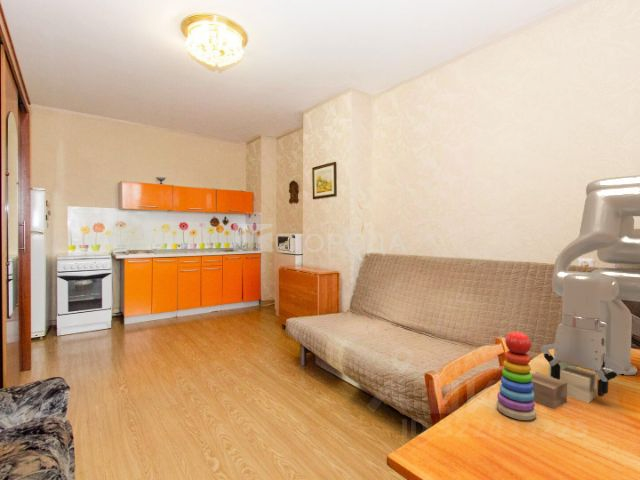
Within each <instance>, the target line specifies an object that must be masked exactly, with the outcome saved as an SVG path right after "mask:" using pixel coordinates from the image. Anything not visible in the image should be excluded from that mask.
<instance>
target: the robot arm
mask: <svg viewBox="0 0 640 480" xmlns="http://www.w3.org/2000/svg"><path fill="white" fill-rule="evenodd" d="M585 195H586V198H585V201H584V206H583V212H582V218H581V223H580V228H579V235H578V237H577V238H575V239H574V240H572V241H571V242H570V243H569V244H567V245H566V246H565V247H564V248H563V249H562V250H561V251H560V252H559V254H558V255H557V258H556V259H555V261H554V265H553V266H554V267H553V272H552V277H551V286H552V287H551V288H552V290H553V292H554V293H555V294H556V295H558V296H561V297H562V310H561V312H562V313H561V322H560V323H558V327H557V330H556V333H555V338H554V339H555V340H554V342H553V343H549V344H545V345H542V346H540V351H541V353H542V355H543V357H544V358H545V360H546V361H547V362H548V364H549V366H551V377H553V378H555V379H558V380H560V365H559V363H560V362H563V363H567V364H570V365H574V366H577V368H581V369H583V370H589V371H591V372H593V371H594V373H595V374H597V377H598V378H599V379H597V397H600V398H603V396H605V395H608V392H609V381H610V380H612V379H615V378H617V376H619V375H621V374H624V375H623V376H634V375H637V374H636V373H638V369H637V367H636V366H635V365H632V364H631V355H632V353H631V352H632V330H633V329H632V326H633V324H632V323H633V315H632V312H631V311H630V309H629V308H628V306H627V305H626V304H625V303H624V302H623V301H629V302H630V301H631V302H640V269H629V268H616V267H600V268H599V267H598V268H595V269H594V270H592V271H591V272H587V271H575V270H569V269H570V266H571V264H572V263H573V262H575V260H576V259H578V258H580V257H582V256H583V255H587V254H590V253H593V252H596V256H597V258H598V260H599V261H601V262H602V263H605V264H606V263H607V264H612V265H625V266H626V265H627V266H640V234H638V233H637V234H636V233H635V218H634V217H640V174H637V175H628V176H615V177H606V178H600V179H596V180H593V181H591V182H588V184H587V185H586V187H585ZM550 350H553V355H552V354H551V353H550ZM553 356H554V357H555V359H554V358H553Z"/></svg>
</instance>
